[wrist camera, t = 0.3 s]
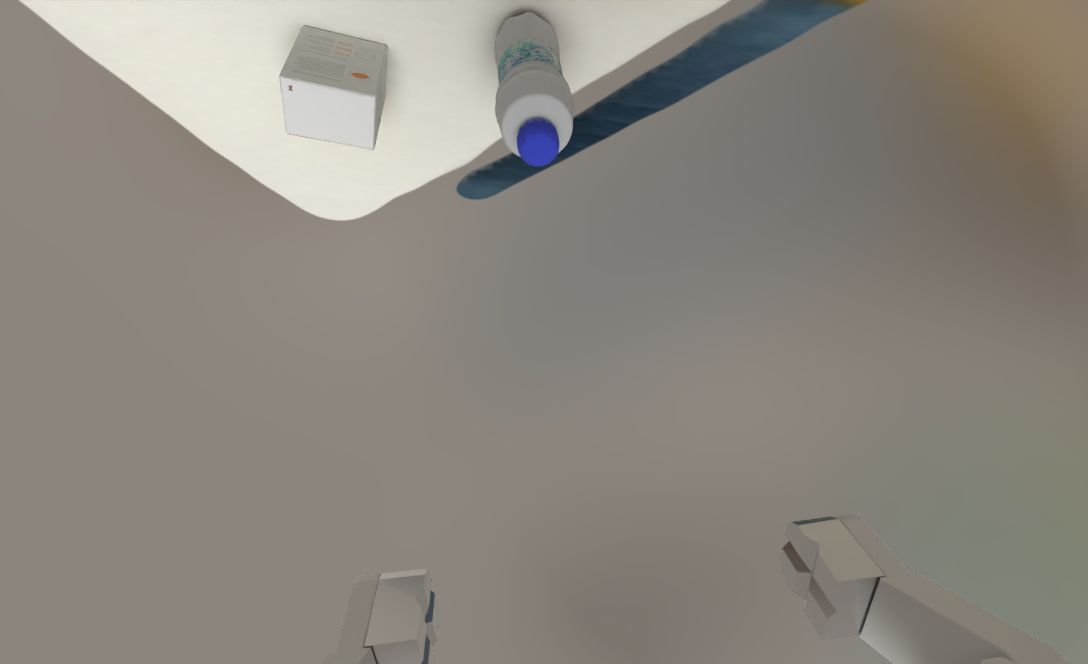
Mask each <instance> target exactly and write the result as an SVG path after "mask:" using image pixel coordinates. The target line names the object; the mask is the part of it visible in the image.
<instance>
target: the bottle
mask: <svg viewBox="0 0 1088 664" xmlns="http://www.w3.org/2000/svg"><path fill="white" fill-rule="evenodd" d="M495 58H496V63H497V68H498V79H499V87H498V90H497V94H496V105H495V113H496V118H497V122H498V124H499V127H500V130H501V134H502V137H503V139H504V142H505V143H506V145H507V146H508V148H509V149H510V150H511V151H512V152H513V153H515V154H516V155H518V156H520V157H521V158H522V159H523V160H524V161H525V162H526V163H528V164H530V165H533V166H544V165H547V164H548V163H550V162H552V161H553V160H554V158H555V157H556V155H557V154H558V153H559V152H560V151H561V150H562V149H563V148H564V147H565V146H566V144H567V143H568V141H569V139H570V137H571V134H572V129H573V109H574V105H573V98H572V95H571V92H570V89H569V86H568V84H567V82H566V80H565V79H564V77H563V74H562V69H561V65H560V57H559V46H558V41H557V37H556V35H555V32H554V30H553V28H552V27H551V25H550V24H549V23H548V22H546V21H545V20H543V19H541V18H540V17H538V16H537V15H536V14H534V13H532V12H526V13H524V14H521V15H518V16H514V17H512V16H511V17H509V18H508V19H507V20H506V21H505V22H504V24H503V26H502V28H501V29H500V31H499V33H498V35H497V38H496V42H495Z"/></svg>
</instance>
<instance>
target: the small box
mask: <svg viewBox="0 0 1088 664" xmlns="http://www.w3.org/2000/svg"><path fill="white" fill-rule="evenodd" d="M386 71H387V45H384V44H379V43H375V42H371V41H366V40H362V39H358V38H354V37H350V36H346V35H341V34H337V33H333V32H329V31H324V30H320V29H316V28H312V27H308V26H303V27H302V29H301V31H300V33H299V35H298V38H297V40H296V42H295V44H294V46H293V48H292V50H291V52H290V54H289V56H288V58H287V60H286V62H285V64H284V67H283V69H282V71H281V73H280V76H279V77H280V84H281V92H282V100H283V109H284V117H285V125H286V133H287V134H290V135H296V136H301V137H307V138H312V139H318V140H323V141H329V142H334V143H340V144H345V145H350V146H356V147H361V148H366V149H371V150H374V148H375V144H376V139H377V134H378V129H379V125H380V120H381V115H382V110H383V105H384V100H385V92H386Z"/></svg>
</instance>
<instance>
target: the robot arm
mask: <svg viewBox="0 0 1088 664" xmlns="http://www.w3.org/2000/svg"><path fill="white" fill-rule="evenodd" d="M785 535H786V536H787V538H788V539H789V542H788V543H787V544H786V545H785V546H784V547H783V548H782V552H781V565H782V570H783V573H784V576H785V578H786V581H787V583H788V584H789V586H790V588H791V590H792V591H793V592H794V593H796V594H797V595H798V596H800V597H801V598H803V599H804V600H805V605H804V611H805V613H806V614H807V616H808V618H809V619H810V621H811V623H812V624H813V626H814V628H815V629H816V631H817V632H818V634H819V636H820V637H821V639H827V638H836V637H845V636H853V635H860V638H862V639H863V640H864V641H865V642H867V643H868V644H869V645H870V646H872V647H873V648H874V649H876V650H877V651H878V652H880V653H881V654H882V655H883V656H884V657H886V658H887V659H888V660H889V661H891V662H892V663H893V664H1069V663H1068V662H1067V661H1066V660H1065V659H1064V658H1063V657H1062V656H1061V655H1060V654H1059V653H1058V652H1057V651H1056V650H1055V649H1054V648H1053V647H1051V646H1049V645H1048V644H1046V643H1044V642H1042V641H1040V640H1038V639H1037V638H1035V637H1033V636H1031V635H1029V634H1028V633H1025V632H1024V631H1022V630H1020V629H1018V628H1017V627H1015V626H1013V625H1011V624H1009V623H1007V622H1006V621H1004V620H1002V619H1000V618H998V617H996V616H995V615H993V614H991V613H989V612H987V611H986V610H984V609H982V608H980V607H978V606H976V605H975V604H973V603H971V602H969V601H967V600H965V599H964V598H962V597H960V596H958V595H956V594H954V593H953V592H951V591H949V590H947V589H945V588H944V587H942V586H940V585H938V584H936V583H935V582H933V581H931V580H929V579H927V578H925V577H924V576H922V575H920V574H918V573H910V572H909V571H908V570H907V569H906V568H905V567H904V566H903V564H902V563H901V562H900V561H899V560H898V559H897V558H896V556H895V555H894V554H893V553H892V552H891V551H890V550H889V549H888V547H887V546H886V545H885V544H884V543H883V542H882V541H881V539H880V538H879V537H878V536H877V535H876V534H875V532H874V531H873V530H872V529H871V528H870V527H869V526H868V524H867V523H866V522H865V521H864V520H863V519H862V518H861V517H860V516H858V515H857V514H849V515H842V516H834V517H822V518H816V519H809V520H801V521H794V522H790V523H789V524H788V525H787V528H786V532H785ZM431 581H432V579H431V575H430V571H429V569H423V570H414V571H403V572H394V573H383V574H375V575H366V576H358V577H357V579H356V581H355V582H354V584H353V588H352V592H351V595H350V599H349V603H348V606H347V610H346V614H345V618H344V622H343V625H342V629H341V633H340V637H339V640H338V644H337V648H336V652H331V653H328V654H327V655H326V656H325V657H324V659H323V660H322V661H321V662H320V663H319V664H435V659H434V656H433V651H432V646H433V645H434V643H435V642H436V641H437V631H438V610H437V601H436V596H435V593H434V592H432V591H431Z"/></svg>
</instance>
